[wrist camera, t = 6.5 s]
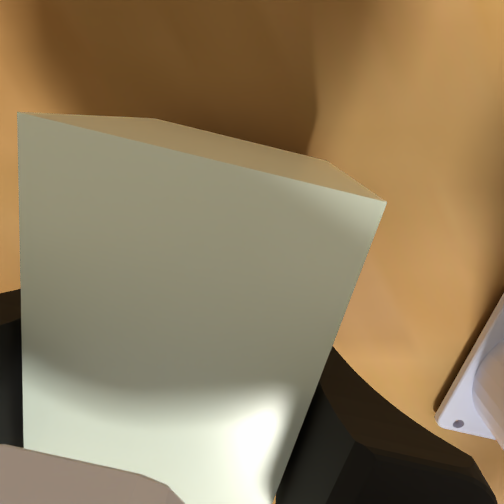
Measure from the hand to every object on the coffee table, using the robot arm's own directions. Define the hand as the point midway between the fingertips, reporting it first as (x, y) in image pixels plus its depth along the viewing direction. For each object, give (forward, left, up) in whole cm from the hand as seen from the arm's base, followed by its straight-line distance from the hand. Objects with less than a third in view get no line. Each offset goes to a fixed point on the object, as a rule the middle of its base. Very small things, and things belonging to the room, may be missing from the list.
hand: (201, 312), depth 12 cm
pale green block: (0, 0, -2) cm, 2 cm away
